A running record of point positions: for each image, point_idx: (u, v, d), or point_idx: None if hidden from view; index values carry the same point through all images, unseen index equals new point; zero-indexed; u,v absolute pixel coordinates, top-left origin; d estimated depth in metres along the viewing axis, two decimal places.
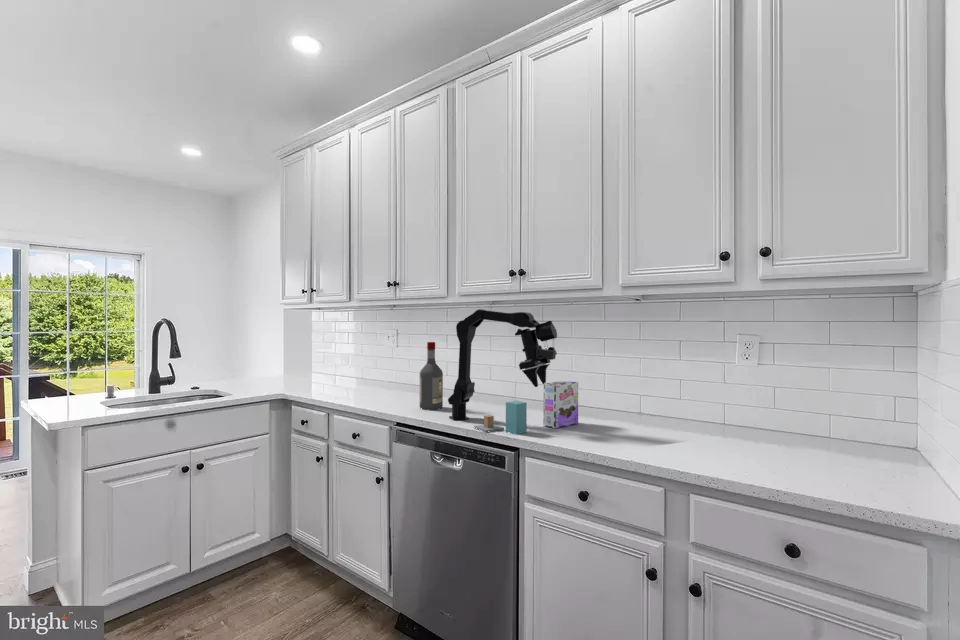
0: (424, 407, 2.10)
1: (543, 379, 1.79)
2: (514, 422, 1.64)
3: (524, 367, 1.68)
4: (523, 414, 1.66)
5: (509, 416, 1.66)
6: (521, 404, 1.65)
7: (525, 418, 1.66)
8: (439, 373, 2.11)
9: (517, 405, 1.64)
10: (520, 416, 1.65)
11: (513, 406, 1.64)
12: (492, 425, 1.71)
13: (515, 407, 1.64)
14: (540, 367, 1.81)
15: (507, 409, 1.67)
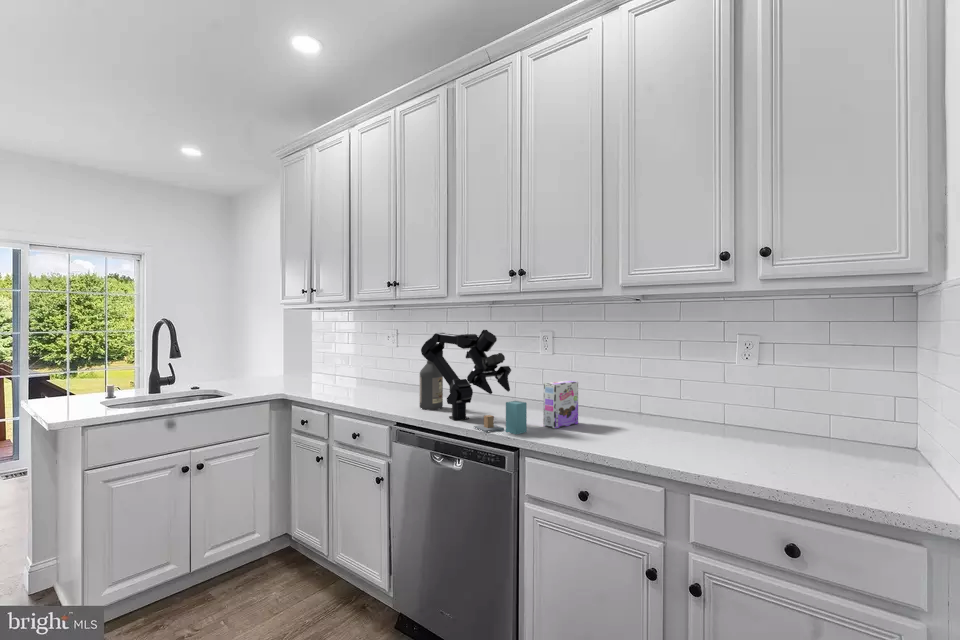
0: (424, 407, 2.10)
1: (506, 387, 1.77)
2: (514, 422, 1.64)
3: (470, 379, 1.71)
4: (523, 414, 1.66)
5: (509, 416, 1.66)
6: (521, 404, 1.65)
7: (525, 418, 1.66)
8: (439, 373, 2.11)
9: (517, 405, 1.64)
10: (520, 416, 1.65)
11: (513, 406, 1.64)
12: (492, 425, 1.71)
13: (515, 407, 1.64)
14: (501, 377, 1.80)
15: (507, 409, 1.67)
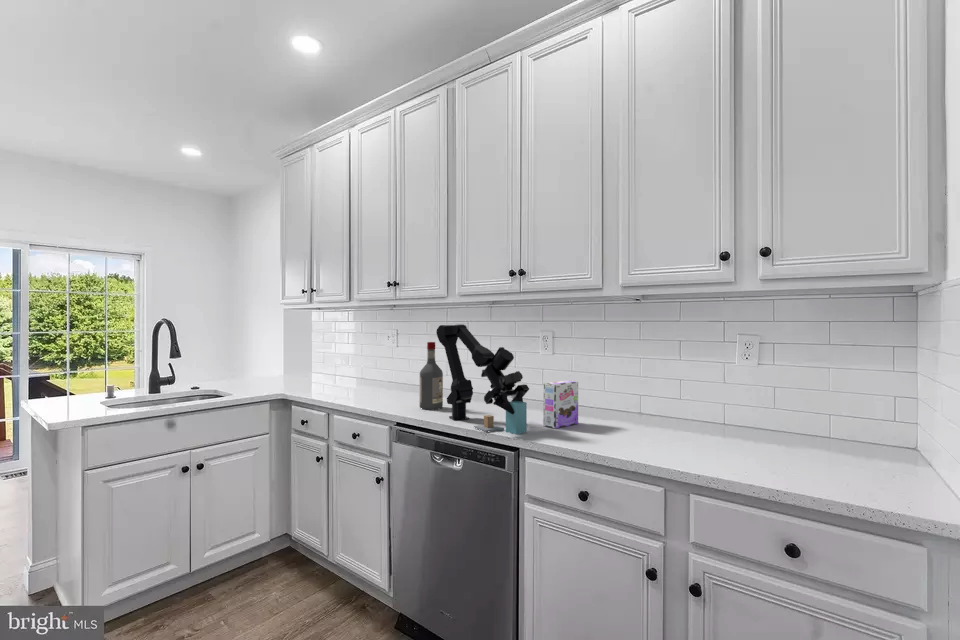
0: (424, 407, 2.10)
1: None
2: (514, 422, 1.64)
3: (487, 399, 1.64)
4: (523, 414, 1.66)
5: (509, 416, 1.66)
6: (521, 404, 1.65)
7: (525, 418, 1.66)
8: (439, 373, 2.11)
9: (517, 405, 1.64)
10: (520, 416, 1.65)
11: (514, 406, 1.64)
12: (492, 425, 1.71)
13: (515, 407, 1.64)
14: (515, 397, 1.72)
15: None
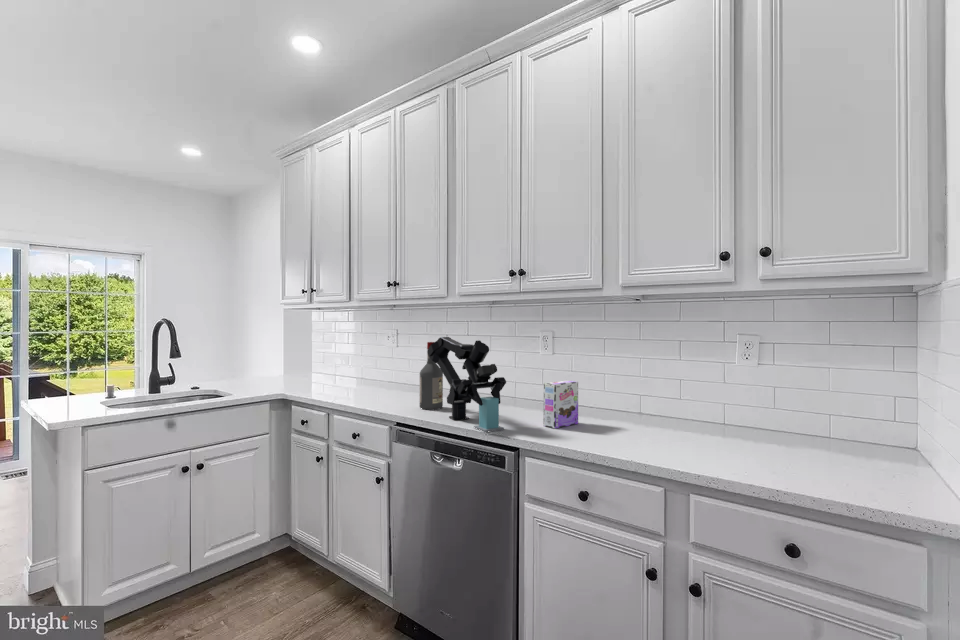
0: (424, 407, 2.10)
1: None
2: (485, 417, 1.68)
3: (459, 390, 1.71)
4: (495, 410, 1.70)
5: (481, 411, 1.71)
6: (492, 400, 1.69)
7: (497, 413, 1.70)
8: (439, 373, 2.11)
9: (488, 401, 1.68)
10: (491, 411, 1.69)
11: (484, 402, 1.69)
12: None
13: (486, 402, 1.68)
14: (493, 389, 1.77)
15: None
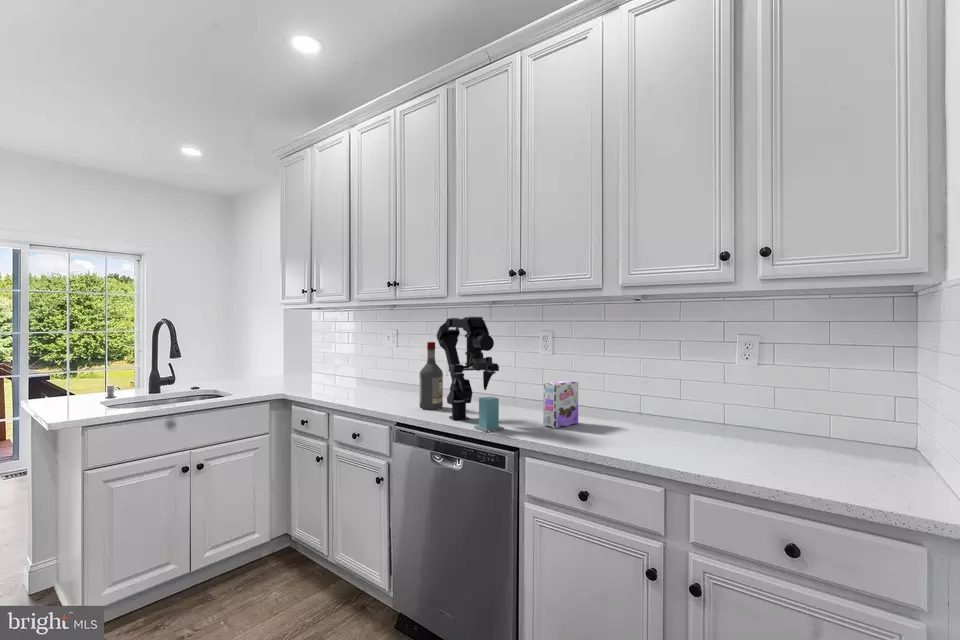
0: (424, 407, 2.10)
1: (484, 385, 1.81)
2: (485, 417, 1.68)
3: (450, 370, 1.76)
4: (495, 410, 1.70)
5: (481, 411, 1.71)
6: (492, 400, 1.69)
7: (497, 413, 1.70)
8: (439, 373, 2.11)
9: (488, 401, 1.68)
10: (491, 411, 1.69)
11: (484, 402, 1.69)
12: None
13: (486, 402, 1.68)
14: (485, 373, 1.81)
15: (480, 404, 1.72)
